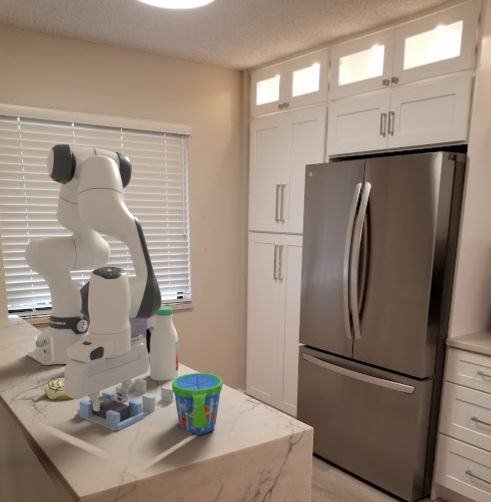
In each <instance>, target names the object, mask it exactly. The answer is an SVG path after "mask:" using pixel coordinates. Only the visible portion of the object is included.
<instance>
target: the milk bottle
mask: <svg viewBox="0 0 491 502" xmlns="http://www.w3.org/2000/svg"><path fill="white" fill-rule="evenodd" d="M173 311H174V310H173V308H172V307H170V306H161V307H160V309H159V310H158V311H157V312H156V313H155V318H156V321H155V325H153V328H154V329H153V331H152V334H151V339H150V365H149V368H150V369H149V374H150V375H149V377H150V379H152V380H154V381H159V382H160V381H162V382H163V381H170V380H175V379H176V378H178V377H179V336H178V332H177V330H176V327H175V325H174V322H173V319H172V318H173Z"/></svg>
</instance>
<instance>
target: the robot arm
mask: <svg viewBox="0 0 491 502" xmlns="http://www.w3.org/2000/svg"><path fill="white" fill-rule="evenodd" d="M46 158H47V159H46V167H47V168H46V169H47V172H48V175H49V177H50V178H51V179H52V181H53V182H56V183H58V184H60V187H59V192H58V200H57V208H56V219H57V222H58V224H59V225H61V226H62V227H63V228H65V229H67V230H69V231H71V232H72V234H71V236H46V237H39V238H37V239H36V238H35V239H32V240H31V241H29V243H28V244H27V246H26V248H25V250H24V259H25V262H26V264H27V266H28V267H29V269H31V270H32V271H34V272H35V273H37V274H38V275H40V277H42V279H43V280H44V281H45V283H46V284H47V286H48V289H49V293H50V301H51V302H50V303H51V315H48V316H47V317H48V318H47V320H48V324H47V326H48V327H46V328H45V329H44V330H43V331H42V332H41V333H40V334H38V335H37V337H36V339H35V340H36V341H35V349H32V350H29V352H28V353H27V356H28V357H30V358H32V359H33V360H35V361H37V362H38V363H40V364H41V365H44V366H51V365H52V366H53V365H65V368H64V377H63V378H64V391H65V393H66V394H67V395H68V396H69V397H71V398H73V399H75V400H80V399H82V398H85V397H88V398H89V399H90V400H91V401H92V402H93V410H94V411H100V410H102V409H103V408H104V406H103V405H104V401H100V400H99V399H98V397H100V391H104V390H106V389H108V388H111V387H114V386H117V385H119V384H121V388H120V391H118V392H117V399H118V400H120V401H123V400H125V399H127V392H128V393H129V391H130V390H129V389H130V387H131V385H132V380H133V379H136V378H137V377H140V376H142V375H145V374H147V373H148V372H149V370H150V369H149V368H150V365H149V358H148V351H147V347H146V338H145V337H144V336H142V335H140V334H139V335H136V336H132V337H131V325H130V322H129V318H144V319H149V318H150V317H152V316H153V317H154V316H155V315H156V312H157V311H158V310H159V309H160V307H162V291H161V289H160V286H159V282H158V279H157V278H156V274H155V272H154V267H153V263H152V260H151V256H150V252H149V247H148V245H147V242H146V238H145V234H144V230H143V227H142V224H141V222H140V221H139V218H138V217H137V216H135V215H134V214H132V213H131V212H130V210H129V209H128V207H127V205H126V203H125V198H124V197H125V195H124V194H125V193H124V189H125V188H126V187H127V186H128V185H129V184H130V182H131V178H132V174H133V169H132V161H131V160H130V158H129V156H127V155H125V154H123V153H122V152H119V151H118V152H117V151H116V152H113V151H111V150H107V149H103V148H98V147H94V146H93V147H89V146H81V145H80V146H79V145H70V144H68V143H67V144H66V143H64V144H62V143H61V144H55V145H54V146H53V147H51V149H50V152H49V153H48V156H47V157H46ZM100 234H101V235H104V236H108V237H111V238H112V239H115V240H118V241H119V242H122V243H123V244H124V245H125V246H126V247H127V248H128V250H129V252H130V257H131V261H132V265H133V269H134V272H135V277H129V276H128V272H127V271H126V270H125V269H123V268H121V267H116V266H107V265H108V263H109V261H110V259H111V255H112V253H111V252H112V251H111V247H110V245H109V243H108V241H106V240H105V239H104V238H103V237H102V236H101V235H100ZM75 271H76V272H78V271H91V272H90V277H89V281H87V282H86V283H85V284H83V283H81V282H79V281H76V280H74V279H72V276H71V272H75ZM90 400H89V401H90Z"/></svg>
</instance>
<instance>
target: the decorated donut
mask: <svg viewBox="0 0 491 502" xmlns="http://www.w3.org/2000/svg"><path fill="white" fill-rule="evenodd" d="M43 390H44V394H45V396H46V398H47V399H49V400H52V401H53V400H56V401H57V400H58V401H60V400H61V401H62V400H72V399H74V398H71V397H69V396H68V395H67V394H66V393H65V391H64V377H58V378H56V379H53V380H51V381H49V382H48V383H46V385H44V387H43Z"/></svg>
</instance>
